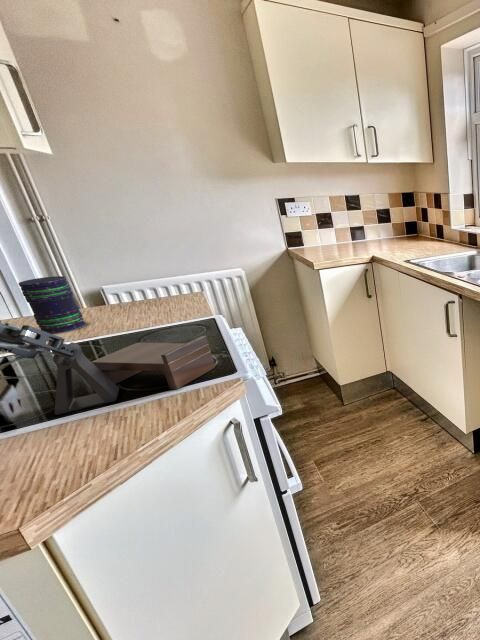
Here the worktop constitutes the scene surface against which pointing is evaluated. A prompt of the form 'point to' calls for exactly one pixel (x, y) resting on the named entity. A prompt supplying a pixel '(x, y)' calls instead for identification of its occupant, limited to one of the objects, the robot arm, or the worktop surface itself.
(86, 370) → the phone stand
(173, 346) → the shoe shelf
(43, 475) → the worktop surface
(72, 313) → the blue green striped cylinder
